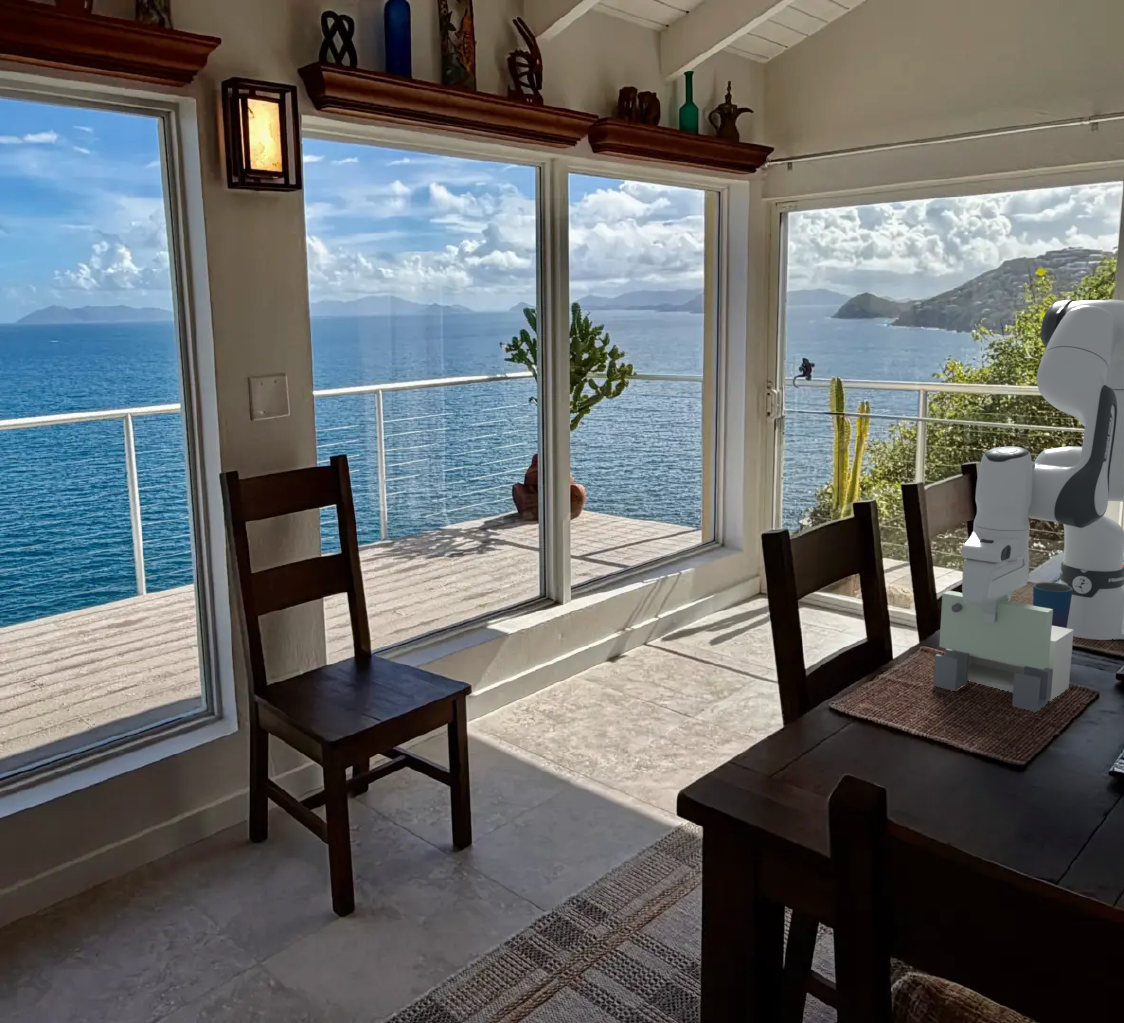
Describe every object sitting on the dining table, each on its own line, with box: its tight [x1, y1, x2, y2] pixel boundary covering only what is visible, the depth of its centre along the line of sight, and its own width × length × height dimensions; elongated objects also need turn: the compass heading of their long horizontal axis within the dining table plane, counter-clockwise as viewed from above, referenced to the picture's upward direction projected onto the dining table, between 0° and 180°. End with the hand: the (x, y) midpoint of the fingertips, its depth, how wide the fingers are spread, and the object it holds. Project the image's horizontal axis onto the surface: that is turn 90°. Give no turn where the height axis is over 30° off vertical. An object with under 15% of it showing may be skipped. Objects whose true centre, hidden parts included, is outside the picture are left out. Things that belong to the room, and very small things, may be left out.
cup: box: [1032, 581, 1073, 628], centre depth 195 cm, size 7×7×15 cm
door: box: [938, 590, 1053, 669], centre depth 177 cm, size 4×18×10 cm, turn 45°
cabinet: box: [932, 626, 1074, 713], centre depth 182 cm, size 16×18×11 cm
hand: (994, 619), depth 177 cm, fingers closed on door, 2 cm apart
